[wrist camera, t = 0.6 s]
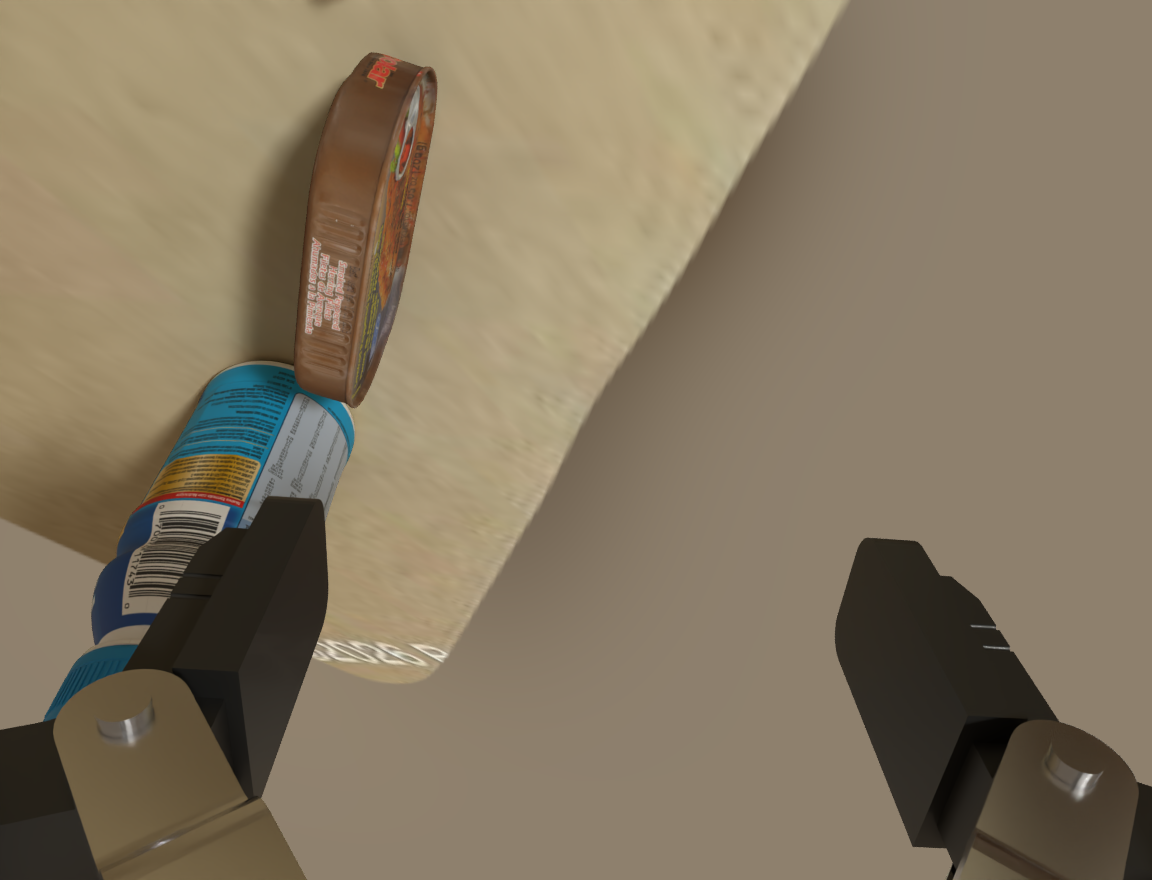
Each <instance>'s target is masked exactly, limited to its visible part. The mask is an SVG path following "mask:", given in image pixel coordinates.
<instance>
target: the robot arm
mask: <svg viewBox="0 0 1152 880" xmlns="http://www.w3.org/2000/svg"><path fill="white" fill-rule="evenodd" d="M327 601H328V569H327V551H326V533H325V515H324V506H323V503H322V501H321V500H320V499H312V498H297V497H282V496H267V497H266V498H265V500H264V501H263V503H262V505H261V507H260V509H259V510H258V512H257V514H256V516H255V518H254V520H253V521H252V523H251V525H250V527H249V529H245V528H230V527H226V528H225V529H224V530H222V531H221V532H219V533H218V534H217V535H215V536H214V537H213V538H211V539H210V540H208V541H207V542H206V543H204V544H203V545H202V546H200V547H199V548H198V549H197V551H196V553H195V554H194V556H193V557H192V559H191V561H190V562H189V564H188V566H187V567H186V569H185V570H184V572H183V577H180V578H179V580H178V582H177V583H176V585H175V587H174V588H173V590H172V591H171V596H170V598H167V599H166V601H165V603H164V604H163V606H162V608H161V609H160V611H159V612H158V614H157V616H156V617H155V619H154V621H153V622H152V624H151V625H150V627H149V629H148V630H147V632H146V633H145V635H144V637H143V638H142V640H141V642H140V643H139V645H138V646H137V648H136V650H135V651H134V653H133V654H132V656H131V658H130V659H129V661H128V663H127V664H126V666H125V667H124V669H123V671H122V672H119V673H116V674H112V675H109V676H107V677H104V678H102V679H99V680H97V681H95V682H93V683H91V684H90V685H88V686H86V687H85V688H83V689H82V690H80V691H79V692H77V693H76V694H75V695H74V696H73V697H72V698H70V699H69V700H68V702H67V703H66V704H65V705H64V706H63V707H62V709H61V710H60V712H59V714H58V715H57V717H56V718H54V719H51V720H48V721H44V722H40V723H35V724H30V725H25V726H19V727H14V728H8V729H4V730H0V880H307V879H306V877H305V875H304V873H303V871H302V869H301V868H300V866H299V864H298V862H297V860H296V858H295V856H294V855H293V853H292V851H291V849H290V847H289V845H288V844H287V842H286V840H285V838H284V836H283V834H282V832H281V831H280V829H279V827H278V825H277V823H276V821H275V820H274V818H273V816H272V814H271V812H270V810H269V809H268V807H267V806H266V804H265V803H264V801H263V800H262V799H261V797H262V794H263V791H264V788H265V786H266V783H267V780H268V777H269V775H270V772H271V769H272V766H273V764H274V761H275V758H276V755H277V752H278V749H279V747H280V744H281V741H282V738H283V736H284V733H285V730H286V727H287V724H288V721H289V719H290V716H291V713H292V711H293V708H294V705H295V702H296V699H297V696H298V694H299V691H300V688H301V685H302V683H303V680H304V677H305V674H306V671H307V668H308V666H309V663H310V660H311V658H312V655H313V652H314V649H315V646H316V644H317V641H318V638H319V635H320V632H321V630H322V627H323V623H324V619H325V615H326V609H327ZM835 644H836V652H837V656H838V659H839V662H840V665H841V667H842V670H843V672H844V675H845V677H846V680H847V682H848V685H849V687H850V690H851V692H852V695H853V697H854V700H855V702H856V705H857V708H858V710H859V712H860V715H861V717H862V720H863V723H864V725H865V728H866V730H867V733H868V735H869V738H870V740H871V743H872V745H873V748H874V750H875V753H876V755H877V758H878V760H879V763H880V765H881V768H882V770H883V773H884V775H885V778H886V780H887V783H888V785H889V788H890V791H891V793H892V796H893V798H894V800H895V803H896V806H897V808H898V811H899V813H900V816H901V818H902V821H903V823H904V826H905V828H906V831H907V833H908V836H909V838H910V841H911V843H912V846H913V847H929V848H947V850H948V852H949V855H950V857H951V860H952V862H953V863H952V865H951V867H950V870H949V872H948V874H947V876H946V878H945V880H1152V787H1151V786H1148V785H1145V784H1142V783H1139V782H1137V781H1136V779H1135V776H1134V774H1133V773H1132V771H1131V769H1130V768H1129V766H1128V765H1127V764H1126V762H1125V761H1124V760H1123V759H1122V758H1121V757H1120V756H1119V755H1118V754H1117V753H1116V752H1115V751H1114V750H1113V749H1112V748H1110V747H1109V746H1107V745H1106V744H1105V743H1104V742H1102V741H1101V740H1099V739H1098V738H1096V737H1095V736H1093V735H1091V734H1089V733H1087V732H1085V731H1083V730H1081V729H1079V728H1076V727H1074V726H1071V725H1068V724H1065V723H1061V722H1059V721H1058V719H1057V718H1056V716H1055V715H1054V713H1053V711H1052V710H1051V709H1050V707H1049V705H1048V704H1047V702H1046V701H1045V699H1044V698H1043V696H1042V695H1041V693H1040V692H1039V690H1038V689H1037V687H1036V686H1035V684H1034V682H1033V681H1032V679H1031V678H1030V676H1029V675H1028V673H1027V672H1026V670H1025V669H1024V667H1023V666H1022V664H1021V663H1020V661H1019V660H1018V658H1017V656H1016V655H1015V653H1014V652H1010V649H1009V648H1010V646H1009V644H1008V643H1007V641H1006V640H1005V638H1004V637H1003V635H1002V634H1001V632H1000V631H999V630H996V624H995V623H994V621H993V620H992V618H991V617H990V615H989V614H988V612H987V611H986V609H985V608H984V606H983V605H982V603H981V601H980V600H979V599H978V598H977V597H975V596H974V595H973V594H972V593H970V592H969V591H968V590H967V589H966V588H965V587H963V586H962V585H961V584H959V583H958V582H957V581H956V580H955V579H953V578H952V577H950V576H940V575H939V573H938V572H937V570H936V568H935V567H934V565H933V564H932V562H931V560H930V559H929V557H928V555H927V554H926V552H925V551H924V549H923V547H922V546H921V545H920V544H919V543H918V542H916V541H908V540H893V539H878V538H865V539H864V540H863V541H862V542H861V543H860V545H859V547H858V550H857V552H856V556H855V559H854V562H853V566H852V569H851V572H850V576H849V579H848V582H847V586H846V589H845V592H844V596H843V599H842V602H841V606H840V609H839V613H838V616H837V620H836V627H835Z"/></svg>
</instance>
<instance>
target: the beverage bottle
mask: <svg viewBox="0 0 1152 880" xmlns="http://www.w3.org/2000/svg"><path fill="white" fill-rule="evenodd" d="M354 439H355V427H354V422H353V418H352V415H351V413H350V411H349V409H348V407H347V405H346V404H345V403H342V402H339V401H336V400H332V399H329V398H326V397H322V396H319V395H316V394H313V393H310V392H308V391H305V390H303V389H302V388H301V387H300V386H299V385H298V383H297V381H296V378H295V373H294V366H292V365H289V364H285V363H280V362H274V361H250V362H244V363H240V364H236V365H234V366H231V367H229V368H227V369H225V370H223V371H222V372H220V373H219V374H217V375H216V376H215V377H214V378H213V379H212V380H211V381H210V383H209V384H208V385H207V387H206V389H205V390H204V392H203V394H202V396H201V398H200V400H199V402H198V405H197V407H196V409H195V411H194V413H193V415H192V416H191V418H190V420H189V422H188V423H187V425H186V427H185V429H184V431H183V432H182V434H181V436H180V438H179V439H178V441H177V443H176V444H175V446H174V448H173V450H172V451H171V453H170V455H169V457H168V458H167V460H166V462H165V464H164V465H163V467H162V469H161V471H160V472H159V474H158V476H157V478H156V479H155V481H154V483H153V484H152V486H151V488H150V490H149V491H148V493H147V495H146V497H145V498H144V500H143V502H142V503H141V505H140V506H139V507H138V508H137V509H136V510H135V511H134V512H133V513H132V514H131V515H130V517H129V518H128V520H127V521H126V523H125V525H124V527H123V529H122V531H121V534H120V536H119V539H118V542H117V547H116V558H115V559H114V560H112V561H111V562H110V563H109V564H108V565H107V566H106V567H105V568H104V569H103V571H102V572H101V574H100V576H99V578H98V580H97V583H96V586H95V590H94V595H93V601H92V612H91V617H92V618H91V619H92V631H93V637H94V643H95V646H93V647H91V648H90V649H88V650H87V651H86V652H85V653H84V654H83V655H82V656H81V657H80V658H79V659H78V660H77V661H76V662H75V664H74V665H73V666H72V668H71V670H70V672H69V674H68V675H67V677H66V678H65V680H64V682H63V684H62V686H61V687H60V689H59V691H58V693H57V695H56V697H55V699H54V700H53V702H52V704H51V706H50V708H49V710H48V712H47V713H46V715H45V719H44V721H48V720H51V719H54V718H56V717H57V715H58V714H59V712H60V710H61V709H62V707H63V706H64V705H65V704H66V703H67V702H68V700H69V699H70V698H72V697H73V696H74V695H75V694H76V693H77V692H79V691H80V690H82V689H83V688H85V687H86V686H88V685H90V684H91V683H93V682H95V681H97V680H99V679H102V678H104V677H107V676H109V675H112V674H116V673H119V672H122V671H123V669H124V667H125V666H126V664H127V663H128V661H129V659H130V658H131V656H132V654H133V653H134V651H135V650H136V648H137V646H138V645H139V643H140V642H141V640H142V638H143V637H144V635H145V633H146V632H147V630H148V629H149V627H150V625H151V624H152V622H153V621H154V619H155V617H156V616H157V614H158V612H159V611H160V609H161V608H162V606H163V604H164V603H165V601H166V599H167V598H170V596H171V591H172V590H173V588H174V587H175V585H176V583H177V582H178V580H179V578H180V577H183V572H184V570H185V569H186V567H187V566H188V564H189V562H190V561H191V559H192V557H193V556H194V554H195V553H196V551H197V549H198V548H199V547H200V546H202V545H203V544H204V543H206V542H207V541H208V540H210V539H211V538H213V537H214V536H215V535H217V534H218V533H219V532H221V531H222V530H224V529H225V528H226V527H230V528H245V529H249V527H250V525H251V523H252V521H253V520H254V518H255V516H256V514H257V512H258V510H259V509H260V507H261V505H262V503H263V501H264V500H265V498H266V497H267V496H282V497H297V498H312V499H320V500H321V501H322V503H323V506H324V515H325V520H326V517H327V514H328V511H329V508H330V505H331V502H332V499H333V496H334V493H335V490H336V487H337V485H338V482H339V479H340V476H341V474H342V471H343V469H344V467H345V465H346V463H347V461H348V459H349V457H350V454H351V451H352V448H353V445H354ZM44 721H43V722H44Z"/></svg>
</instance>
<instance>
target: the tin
mask: <svg viewBox="0 0 1152 880" xmlns="http://www.w3.org/2000/svg"><path fill="white" fill-rule="evenodd" d="M436 100H437V79H436V74H435V71H434V69H433V68H431V67H424V68H423V67H420V66H417V65H414V64H411V63H408V62H405V61H402V60H399V59H396V58H393V57H390V56H387V55H384V54H379V53H372V52H371V53H369V54H368V55H366V56H365V57H364V58H363V59H362V60H361V61H360V62H359V64H358V65H357V66H356V68H355V69H354V71H353V72H352V74H351V75H350V76H349V77H348V78H347V79H346V80H345V81H344V83H343V84H342V85H341V87H340V88H339V90H338V92H337V94H336V96H335V98H334V101H333V103H332V105H331V108H330V111H329V114H328V117H327V120H326V123H325V126H324V129H323V132H322V135H321V139H320V142H319V146H318V150H317V154H316V159H315V163H314V169H313V174H312V179H311V185H310V191H309V199H308V206H307V217H306V226H305V236H304V245H303V257H302V266H301V275H300V289H299V298H298V310H297V323H296V336H295V349H294V373H295V378H296V381H297V383H298V385H299V386H300V387H301V388H302V389H303V390H305V391H308V392H310V393H313V394H316V395H319V396H322V397H326V398H329V399H332V400H336V401H339V402H342V403H346V404H348V405H349V406H350V407H352V408H357V407H358V406H359V405H360V403H361V402H362V401H363V399H364V397H365V395H366V393H367V392H368V390H369V388H370V385H371V383H372V380H373V378H374V376H375V373H376V371H377V368H378V365H379V363H380V360H381V357H382V354H383V351H384V348H385V345H386V343H387V340H388V337H389V334H390V331H391V329H392V325H393V322H394V319H395V316H396V312H397V308H398V304H399V300H400V296H401V292H402V287H403V282H404V278H405V274H406V269H407V264H408V259H409V253H410V248H411V242H412V237H413V232H414V227H415V221H416V216H417V211H418V205H419V200H420V195H421V190H422V185H423V179H424V174H425V169H426V164H427V159H428V153H429V148H430V142H431V137H432V132H433V126H434V118H435V110H436Z"/></svg>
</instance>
